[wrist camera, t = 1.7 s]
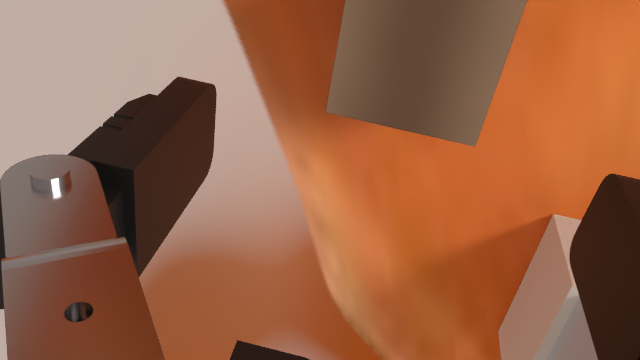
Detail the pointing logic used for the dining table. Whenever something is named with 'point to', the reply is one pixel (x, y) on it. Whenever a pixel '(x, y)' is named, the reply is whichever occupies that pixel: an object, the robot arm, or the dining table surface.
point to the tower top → (574, 338)
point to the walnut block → (422, 63)
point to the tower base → (542, 296)
